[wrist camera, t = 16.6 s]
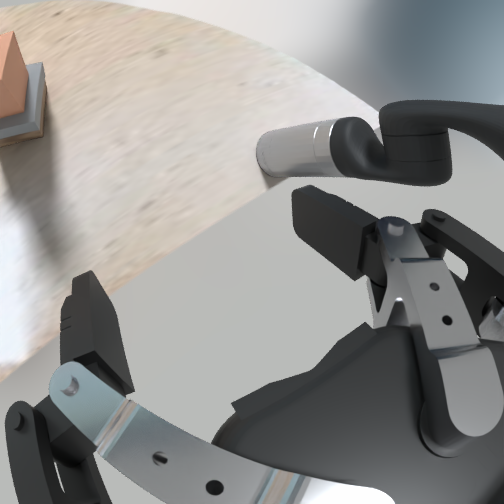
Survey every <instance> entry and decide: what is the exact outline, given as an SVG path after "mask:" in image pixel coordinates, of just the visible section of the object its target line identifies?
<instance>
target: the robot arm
mask: <svg viewBox="0 0 504 504" xmlns="http://www.w3.org/2000/svg"><path fill="white" fill-rule="evenodd" d="M379 124H380V129H381V133H382V139H383V145H384V146H383V145H382V144H381V142H380V141H379V139H378V138H377V136H376V134H375V133H374V131H373V129H372V128H371V126H370V125H369V124H368V123H367V122H366V121H365V120H363V119H361V118H358V117H346V118H339V119H332V120H326V121H320V122H314V123H308V124H303V125H298V126H293V127H288V128H282V129H278V130H273V131H269V132H267V133H265V134H264V135H263V136H262V137H261V138H260V139H259V142H258V144H257V153H256V154H257V159H258V162H259V165H260V166H261V168H262V169H263V171H264V172H266V173H267V174H268V175H270V176H274V177H350V178H351V177H352V178H358V179H364V180H376V181H385V182H392V183H398V184H404V185H412V186H437V185H441V184H444V183H446V182H447V181H448V180H449V179H450V178H451V176H452V160H451V149H450V142H449V134H448V128H450V129H454V130H457V131H460V132H462V133H465V134H467V135H469V136H471V137H473V138H475V139H477V140H479V141H480V142H482V143H483V144H485V145H486V146H488V147H489V148H490V149H491V150H493V151H494V152H495V153H496V154H497V155H499V156H500V157H501V158H502V159H503V160H504V105H493V104H480V103H470V102H456V101H441V100H439V101H438V100H405V101H398V102H394V103H390V104H387V105H385V106H384V107H382V108H381V109H380V112H379ZM292 216H293V227H294V230H295V232H296V234H297V235H298V237H299V238H301V239H302V240H303V241H304V242H306V243H307V244H308V245H310V246H311V247H312V248H314V249H315V250H316V251H317V252H319V253H320V254H321V255H322V256H324V257H325V258H326V259H327V260H329V261H330V262H331V263H333V264H334V265H335V266H336V267H338V268H339V269H340V270H341V271H343V272H344V273H345V274H346V275H348V276H349V277H350V278H351V279H352V280H354V281H356V280H357V279H359V278H360V277H362V276H364V275H366V276H367V277H368V278H367V288H368V293H369V299H370V304H371V309H372V314H373V322H374V326H373V329H372V328H371V327H370V326H369V325H368V324H367V323H366V322H364V323H363V324H361V325H360V326H359V327H357V328H356V329H355V330H353V331H352V332H350V333H349V334H347V335H346V336H345V337H343V338H342V339H340V340H339V341H338V342H337V343H336V344H335V345H334V346H333V348H332V349H331V350H330V351H329V352H328V353H327V354H326V355H325V356H324V358H323V359H322V360H321V361H320V362H319V363H318V364H317V365H316V366H315V367H314V368H313V369H312V370H310V371H308V372H305V373H302V374H299V375H295V376H292V377H289V378H286V379H283V380H279V381H276V382H272V383H269V384H267V385H265V386H263V387H262V388H260V389H258V390H256V391H254V392H252V393H250V394H248V395H246V396H244V397H242V398H240V399H238V400H236V401H234V402H232V403H231V404H232V406H233V408H234V409H235V411H236V412H235V413H234V414H233V415H232V416H231V417H230V418H228V419H227V421H226V422H225V423H224V424H223V425H222V426H221V427H220V429H219V430H218V432H217V433H216V435H215V437H214V438H213V440H212V442H211V444H210V443H208V442H206V441H204V440H202V439H199V438H198V437H195V436H193V435H191V434H189V433H188V432H186V431H184V430H182V429H180V428H178V427H176V426H174V425H172V424H171V423H169V422H167V421H165V420H164V419H162V418H160V417H158V416H157V415H155V414H153V413H152V412H150V411H148V410H147V409H145V408H144V407H142V406H140V405H139V404H137V403H135V402H134V401H132V400H128V399H126V395H127V394H130V393H132V392H135V389H134V386H133V383H132V379H131V375H130V372H129V368H128V364H127V360H126V356H125V352H124V347H123V343H122V338H121V334H120V328H119V323H118V318H117V314H116V311H115V309H114V306H113V304H112V302H111V301H110V299H109V297H108V296H107V294H106V293H105V291H104V289H103V288H102V286H101V284H100V283H99V281H98V279H97V277H96V276H95V274H94V273H93V271H91V270H90V271H88V272H86V273H83V274H81V275H79V276H77V277H75V278H73V280H72V295H70V296H68V297H66V299H65V301H64V304H63V306H62V308H61V323H60V330H61V332H60V360H61V362H60V363H61V366H60V367H59V368H58V369H57V370H56V371H55V372H54V374H53V375H52V377H51V380H50V384H49V395H48V396H47V397H46V398H44V399H43V400H42V401H41V402H40V403H38V404H37V405H36V406H35V407H32V406H31V405H29V404H28V403H26V402H24V401H17V402H15V403H14V404H13V405H12V406H11V407H10V408H9V410H8V412H7V415H6V419H5V432H6V441H7V449H8V456H9V462H10V468H11V473H12V478H13V482H14V487H15V491H16V494H17V498H18V502H19V504H112V502H111V500H110V498H109V495H108V493H107V490H106V488H105V485H104V483H103V481H102V478H101V475H100V473H99V470H98V467H97V464H96V461H95V458H94V455H93V453H94V452H95V451H97V452H98V453H99V455H100V456H101V457H103V458H104V459H105V460H106V461H107V462H109V463H110V464H111V465H112V466H113V467H115V468H116V469H117V470H118V471H120V472H121V473H122V474H123V475H125V476H126V477H127V478H129V479H130V480H132V481H133V482H134V483H136V484H137V485H139V486H140V487H142V488H143V489H144V490H146V491H147V492H149V493H150V494H152V495H153V496H155V497H157V498H158V499H160V500H161V501H163V502H165V503H166V504H504V252H502V251H501V250H500V249H498V248H497V247H496V246H494V245H493V244H492V243H490V242H489V241H487V240H486V239H485V238H483V237H482V236H480V235H479V234H477V233H476V232H474V231H472V230H471V229H470V228H468V227H467V226H465V225H464V224H462V223H460V222H459V221H458V220H456V219H454V218H453V217H451V216H449V215H448V214H446V213H444V212H442V211H439V210H435V209H428V210H425V211H424V212H423V215H422V219H421V223H416V224H410V223H409V222H408V221H406V220H404V219H402V218H399V217H394V216H386V217H383V218H381V219H378V218H376V217H375V216H373V215H371V214H369V213H368V212H366V211H364V210H362V209H360V208H359V207H357V206H353V204H351V203H350V202H346V201H345V200H344V199H342V198H340V197H338V196H336V195H333V194H329V193H326V192H324V191H322V190H320V189H318V188H317V187H314V186H312V185H307V186H304V187H301V188H299V189H296V190H294V191H293V192H292ZM446 249H448V250H449V251H451V252H452V253H454V254H455V255H456V256H458V257H459V258H460V259H462V260H463V261H464V262H465V263H466V264H467V266H468V274H467V277H466V279H465V281H463V280H462V279H461V278H459V277H458V276H457V275H456V274H454V273H453V272H452V271H450V270H449V269H448V267H447V266H446V263H445V262H444V260H443V257H444V254H445V251H446ZM495 296H496V298H495ZM477 335H478V336H479V337H480V338H478V337H477ZM54 462H56V464H57V468H58V472H59V475H60V478H61V482H62V485H63V488H64V491H65V493H64V492H63V490H62V488H61V486H60V483H59V479H58V476H57V472H56V469H55V465H54Z"/></svg>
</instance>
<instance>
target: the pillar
mask: <svg viewBox="0 0 504 504" xmlns="http://www.w3.org/2000/svg"><path fill="white" fill-rule="evenodd" d="M28 77H29V73H28V71H27V68H26V66H25V63H24V60H23V58H22V55H21V52H20V49H19V46H18V43H17V40H16V37H15V34H14V31H11V32H8V33H5V34H2V35H0V119H1V118H4V117H7V116H11V115H15V114H19V113H23V112H24V109H25V99H26V90H27V83H28Z"/></svg>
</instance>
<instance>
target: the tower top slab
mask: <svg viewBox="0 0 504 504" xmlns="http://www.w3.org/2000/svg"><path fill="white" fill-rule="evenodd" d="M25 66H26V68H27V71H28V73H29V77H28V83H27V90H26V99H25V109H24V112H23V113H19V114H15V115H11V116H7V117H4V118H1V119H0V139H3V138H7V137H10V136H14V135H19V134H23V133H27V132H32V131H37V130H40V117H41V105H42V96H43V88H44V81H45V72H44V67H43V63H42V62H39V63H34V64H29V65H25Z"/></svg>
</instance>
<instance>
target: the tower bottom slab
mask: <svg viewBox="0 0 504 504" xmlns="http://www.w3.org/2000/svg"><path fill="white" fill-rule="evenodd" d="M46 90H47V86H46V82H45V81H44V88H43V96H42V105H41V117H40V130H37V131H32V132H27V133H23V134H19V135H14V136H10V137H7V138H3V139H0V147H3V146H6V145H10V144H14V143H18V142H22V141H26V140H30V139H35V138H39V137H43V131H44V111H45V99H46Z"/></svg>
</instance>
